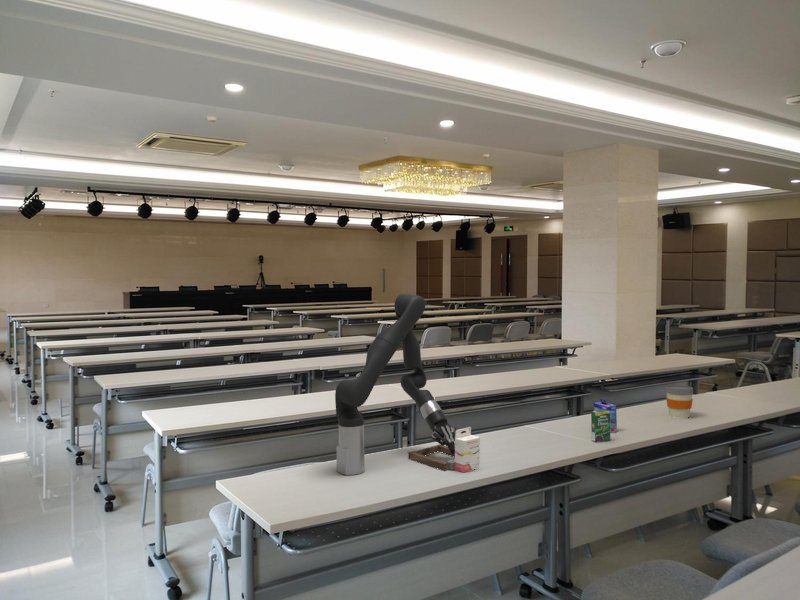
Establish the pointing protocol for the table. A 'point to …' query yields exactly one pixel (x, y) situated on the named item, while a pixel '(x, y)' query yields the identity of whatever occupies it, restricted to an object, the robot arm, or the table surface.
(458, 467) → the ink cartridge box
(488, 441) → the table surface
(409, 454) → the brown wooden frame
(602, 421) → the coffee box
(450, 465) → the grey block with knob
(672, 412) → the reusable coffee cup
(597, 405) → the ink cartridge box
